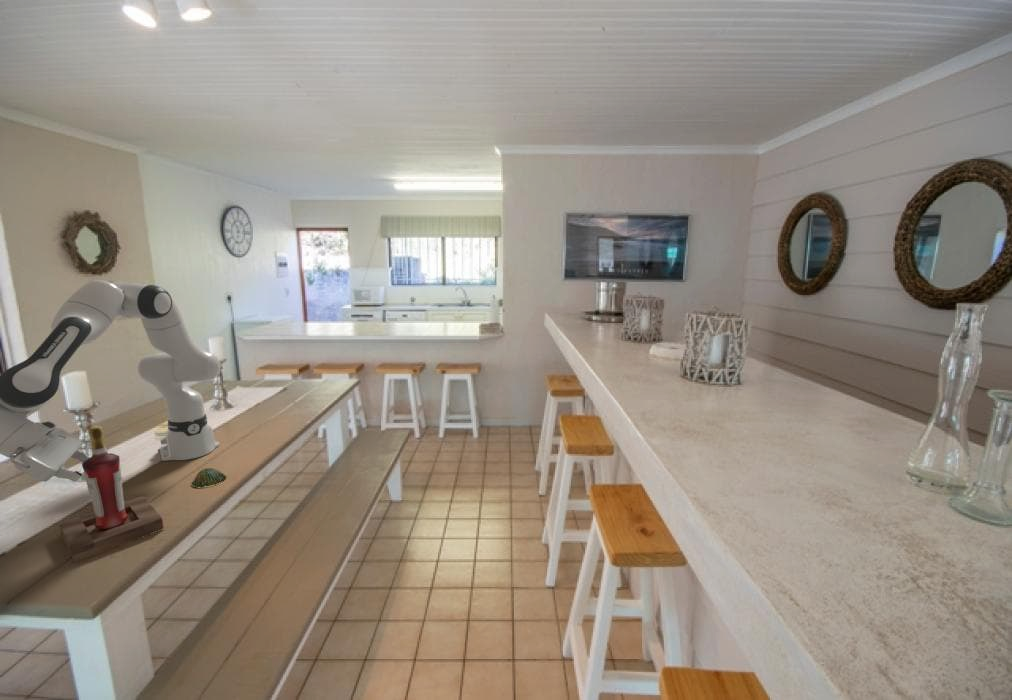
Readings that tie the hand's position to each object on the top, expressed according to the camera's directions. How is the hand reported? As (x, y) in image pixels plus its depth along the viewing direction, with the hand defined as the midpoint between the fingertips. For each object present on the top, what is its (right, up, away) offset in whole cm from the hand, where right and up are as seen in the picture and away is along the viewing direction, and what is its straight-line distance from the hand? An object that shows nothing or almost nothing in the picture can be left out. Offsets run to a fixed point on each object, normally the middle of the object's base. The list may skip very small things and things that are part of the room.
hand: (85, 470), depth 116 cm
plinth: (+2, -18, +5) cm, 19 cm away
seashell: (+10, -13, +34) cm, 38 cm away
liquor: (+2, -16, +5) cm, 17 cm away
